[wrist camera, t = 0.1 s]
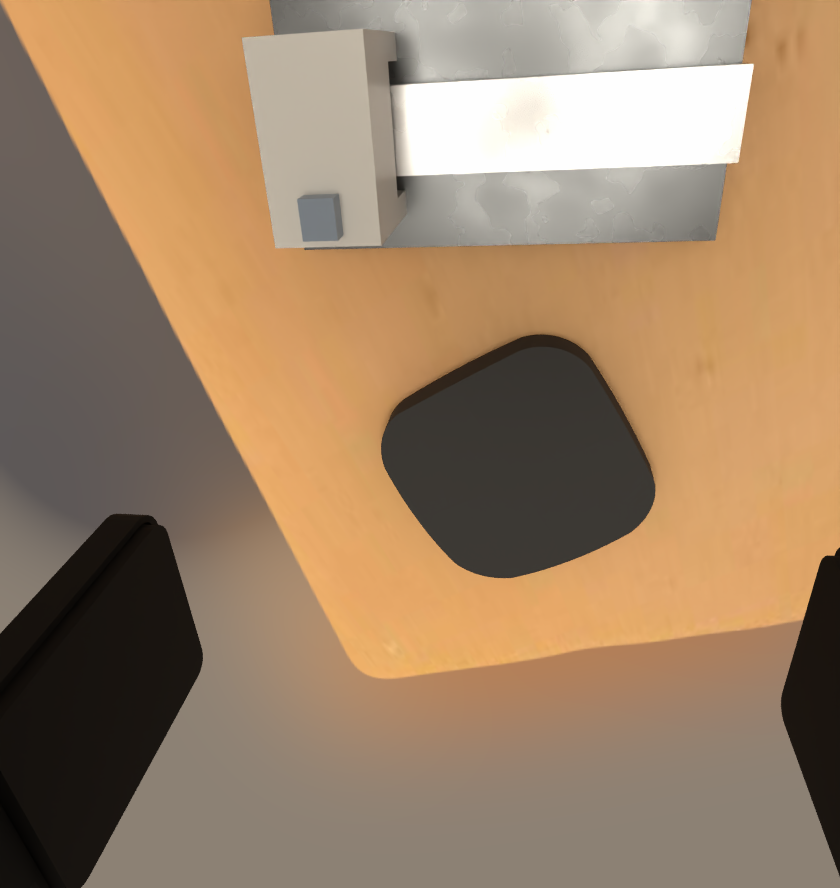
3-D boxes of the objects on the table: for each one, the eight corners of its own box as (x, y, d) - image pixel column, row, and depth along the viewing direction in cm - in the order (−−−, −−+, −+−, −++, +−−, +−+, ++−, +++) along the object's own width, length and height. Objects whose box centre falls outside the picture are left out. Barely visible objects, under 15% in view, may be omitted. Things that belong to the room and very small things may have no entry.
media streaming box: (566, 308, 40) (568, 326, 37) (670, 495, 45) (678, 522, 42) (364, 416, 45) (354, 438, 43) (477, 571, 50) (474, 599, 48)
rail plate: (275, -2, 34) (254, -6, 31) (752, -42, 30) (771, -50, 28) (309, 245, 40) (293, 259, 37) (711, 235, 36) (724, 250, 34)
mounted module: (294, 39, 34) (232, 37, 27) (394, 32, 33) (356, 27, 26) (317, 216, 38) (268, 253, 31) (406, 213, 37) (376, 251, 30)
